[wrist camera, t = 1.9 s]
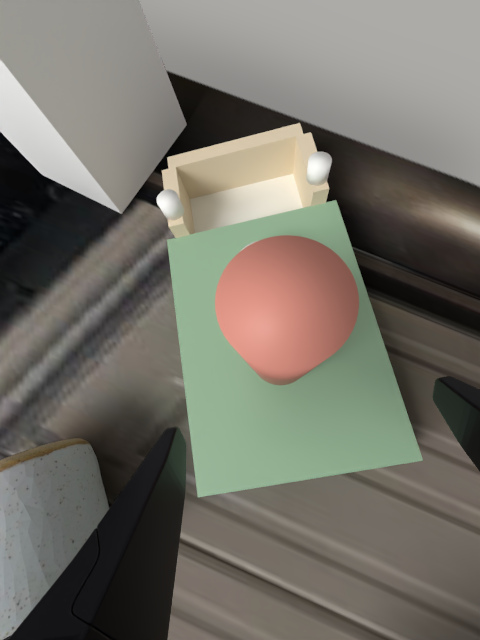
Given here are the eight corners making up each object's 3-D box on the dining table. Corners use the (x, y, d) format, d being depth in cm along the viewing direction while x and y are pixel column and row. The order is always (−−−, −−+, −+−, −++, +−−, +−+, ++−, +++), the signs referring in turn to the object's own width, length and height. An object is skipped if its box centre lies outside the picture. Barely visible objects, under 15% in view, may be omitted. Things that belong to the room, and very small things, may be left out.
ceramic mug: (110, 425, 22) (23, 441, 15) (142, 537, 20) (59, 624, 12) (-8, 483, 22) (-152, 527, 15) (10, 601, 20) (-150, 724, 12)
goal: (323, 220, 24) (336, 172, 19) (182, 253, 25) (158, 215, 20) (304, 160, 26) (311, 101, 21) (174, 193, 27) (150, 144, 22)
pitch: (405, 452, 19) (423, 460, 17) (206, 485, 20) (197, 497, 18) (330, 218, 24) (336, 200, 22) (177, 254, 25) (167, 239, 23)
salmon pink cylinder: (321, 360, 19) (391, 305, 7) (276, 397, 19) (276, 402, 7) (282, 316, 20) (291, 211, 8) (239, 351, 20) (188, 291, 8)
